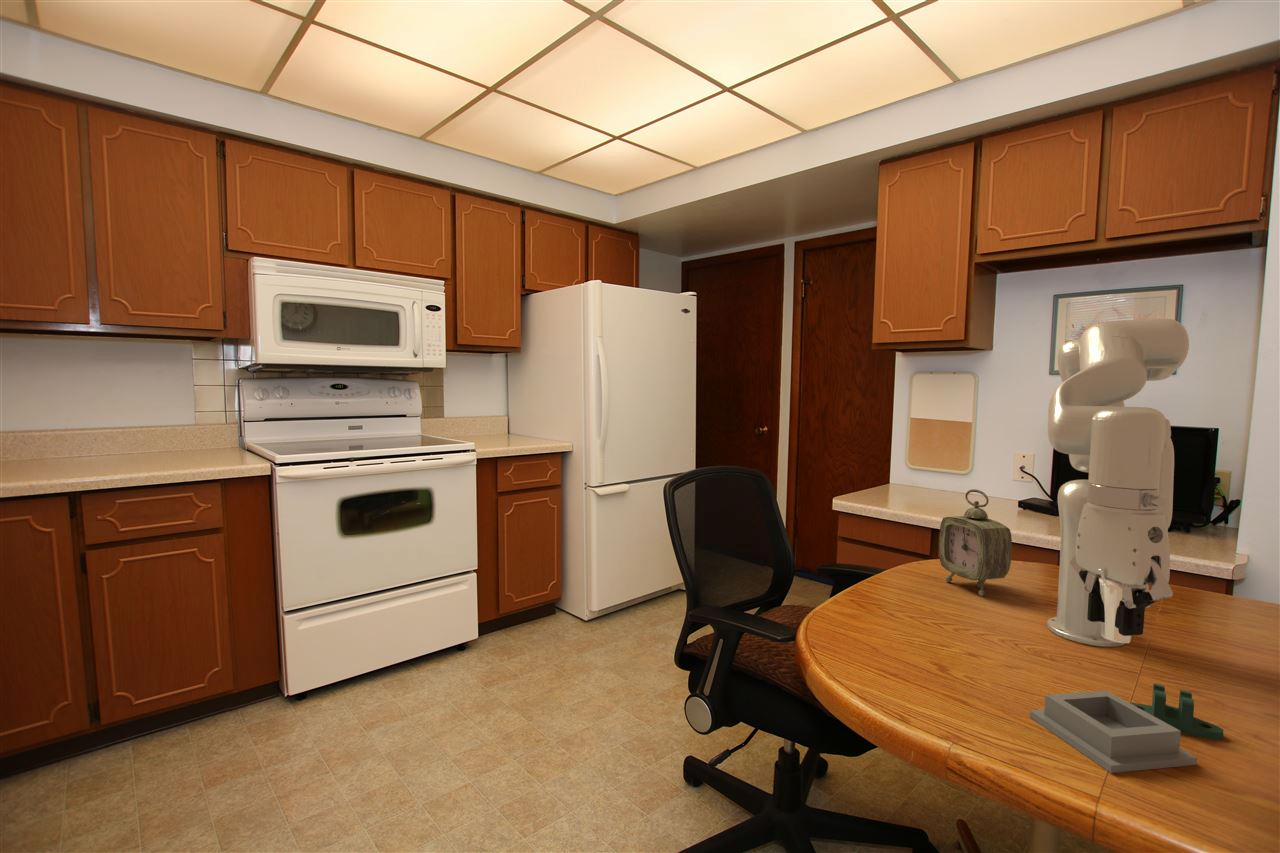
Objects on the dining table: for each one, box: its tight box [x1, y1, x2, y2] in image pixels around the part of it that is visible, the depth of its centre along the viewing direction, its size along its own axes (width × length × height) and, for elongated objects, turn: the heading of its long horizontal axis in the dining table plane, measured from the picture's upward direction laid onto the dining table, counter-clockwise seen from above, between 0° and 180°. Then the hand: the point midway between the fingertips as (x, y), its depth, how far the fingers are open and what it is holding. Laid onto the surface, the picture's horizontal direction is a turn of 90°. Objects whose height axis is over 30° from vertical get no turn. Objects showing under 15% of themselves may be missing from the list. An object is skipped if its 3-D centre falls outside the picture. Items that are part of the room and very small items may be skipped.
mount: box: [1128, 683, 1224, 741], centre depth 86 cm, size 11×4×5 cm, turn 51°
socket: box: [1029, 690, 1198, 774], centre depth 82 cm, size 13×13×4 cm
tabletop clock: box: [938, 488, 1013, 597], centre depth 144 cm, size 14×9×25 cm, turn 14°
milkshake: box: [1099, 569, 1138, 644], centre depth 81 cm, size 4×5×10 cm
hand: (1114, 626), depth 81 cm, fingers closed on milkshake, 4 cm apart
